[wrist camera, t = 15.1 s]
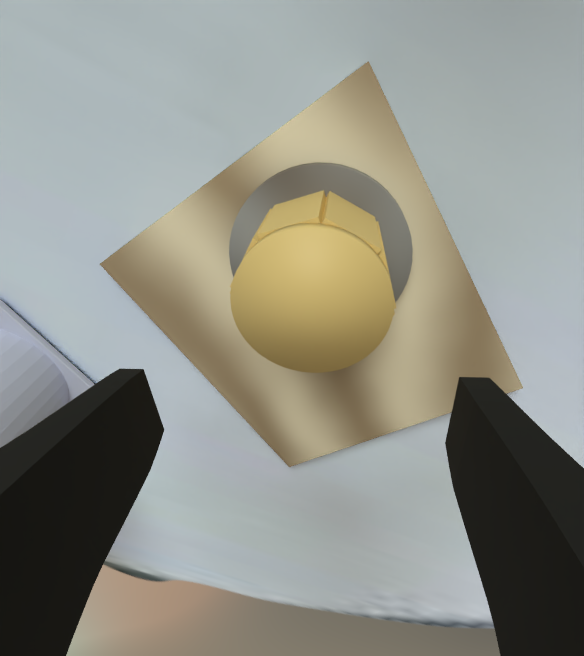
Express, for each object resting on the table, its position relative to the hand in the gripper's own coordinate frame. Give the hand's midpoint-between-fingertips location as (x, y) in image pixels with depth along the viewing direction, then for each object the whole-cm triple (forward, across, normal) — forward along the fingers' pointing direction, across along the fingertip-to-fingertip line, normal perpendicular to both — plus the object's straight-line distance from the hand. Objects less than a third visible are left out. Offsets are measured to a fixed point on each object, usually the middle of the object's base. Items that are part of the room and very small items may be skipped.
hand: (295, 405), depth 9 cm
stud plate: (+10, 0, +4) cm, 11 cm away
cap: (+8, 0, 0) cm, 8 cm away
